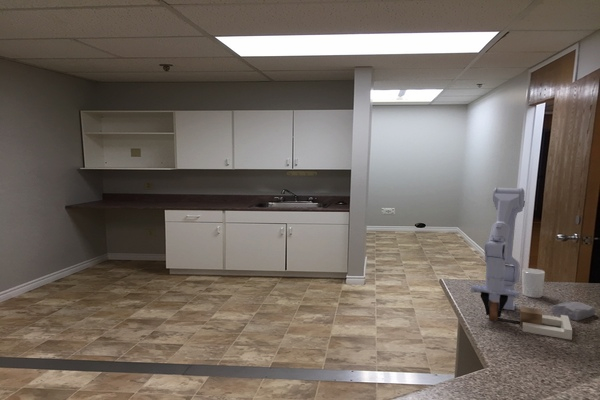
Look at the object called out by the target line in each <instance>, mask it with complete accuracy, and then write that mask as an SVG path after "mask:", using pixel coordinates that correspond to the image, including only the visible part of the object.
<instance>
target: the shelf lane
mask: <svg viewBox="0 0 600 400" xmlns="http://www.w3.org/2000/svg"><path fill="white" fill-rule="evenodd" d="M571 324H572V323H571V322H570V319H569V318H568V316H566V315H561V316H559V317H558V316H553V315H546V314H542V325H538V324H532V323H526V322H523V327H521V328H522V329H521V330H522V332H523V333H530V334H537V335H541V336H548V337H554V338H559V339H565V340H571V341H572V338H573V329H572V325H571Z"/></svg>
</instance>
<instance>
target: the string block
mask: <svg viewBox="0 0 600 400" xmlns="http://www.w3.org/2000/svg"><path fill="white" fill-rule="evenodd" d="M498 312H499V302H497V301H489V315H488V320H489V321H492V322H497V321H500V322H508V323H512V324H513V323H514V324H519V327H521V328H523V322H526V323H532V324H538V325H543V324H542V315H543V311H542V309H540V308H533V307H524V306H520V312H519V314H520V315H519V317H520V318H519V320H514V319H510V318H509V319H507V318H502V317H498Z"/></svg>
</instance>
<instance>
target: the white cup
mask: <svg viewBox="0 0 600 400" xmlns="http://www.w3.org/2000/svg"><path fill="white" fill-rule="evenodd" d="M521 270H522V271H521V286H522V295H523V296H525V297H528V298H537V299H538V298H541V297H543V290H544V283H545V275H546V272H545V270H543V269H538V268H533V267H532V268H530V267H529V268H525V267H524V268H522V269H521Z"/></svg>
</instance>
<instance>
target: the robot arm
mask: <svg viewBox="0 0 600 400" xmlns="http://www.w3.org/2000/svg"><path fill="white" fill-rule="evenodd" d="M525 194H526V193H525V189H524V188H523V187H518V188H515V187H512V188H511V187H498V186H497V187H495V188H494V189H493V192H492V201H493V205H494V207H495V210H496V211H497V212H496V221H495V222H494V223H492V225H491V228H490V233H489V237H488V241H486V242H485V245H484V262H485V263H486V264H485V285H473V284H472V285H471V287H470V292H471V293H479V294H480V298H481V301H482V303H483V306H484V308H485V314H486V316H489V301H497V302H499V312H498V318H502V317H501V315H502V313H503V309H504V310H508V311H515V307H516V305H515V304H516V303H515V302H514V301H515V300H514V299H517V300H518V299H519V297H520V291H518V290H515V285H516V284H518V283H519V281H520V275H521V274H520V273H521V272H520V271H521V270H520V268H521V267H520V265H521V264H520V262H519V261H518V260H517V259H516V258H514V257H513V250H514V249H513V248H514V239H515V238H514V237H515V227H516V219H517V216H518V213H521V212H523V210H524V207H525V206H524V204H525V197H526V196H525Z"/></svg>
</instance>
